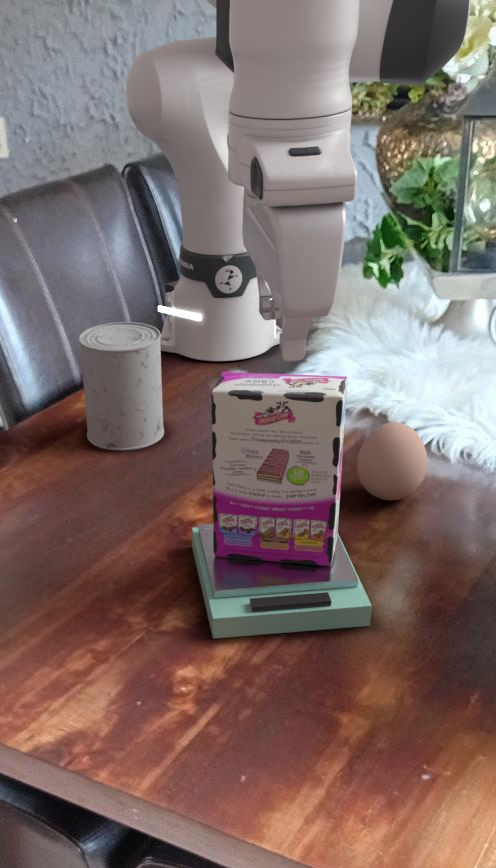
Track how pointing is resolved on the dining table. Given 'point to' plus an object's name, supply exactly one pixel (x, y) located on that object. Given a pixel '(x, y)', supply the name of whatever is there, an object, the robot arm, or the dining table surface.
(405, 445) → the egg
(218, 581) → the scale pan
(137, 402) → the tin can
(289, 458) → the candy bar box
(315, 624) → the scale
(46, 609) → the dining table surface
